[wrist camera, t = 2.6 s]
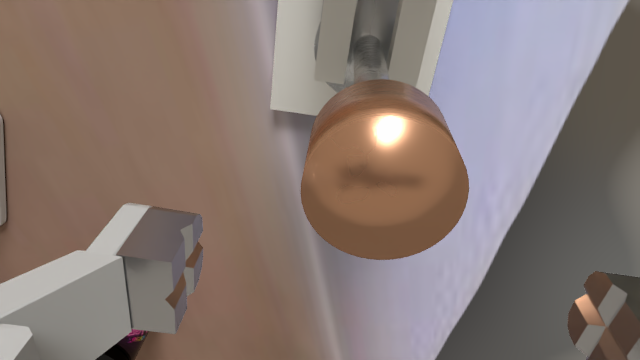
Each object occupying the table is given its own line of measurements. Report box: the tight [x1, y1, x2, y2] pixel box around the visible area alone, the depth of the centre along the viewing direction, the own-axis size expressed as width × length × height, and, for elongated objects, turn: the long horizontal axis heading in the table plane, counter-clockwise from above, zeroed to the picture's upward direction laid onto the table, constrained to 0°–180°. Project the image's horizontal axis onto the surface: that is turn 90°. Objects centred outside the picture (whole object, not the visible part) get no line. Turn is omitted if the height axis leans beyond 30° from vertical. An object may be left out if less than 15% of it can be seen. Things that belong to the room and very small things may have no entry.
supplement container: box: [95, 329, 149, 360], centre depth 54 cm, size 7×7×10 cm
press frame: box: [270, 0, 453, 116], centre depth 26 cm, size 20×14×30 cm
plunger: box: [301, 0, 469, 260], centre depth 19 cm, size 6×6×17 cm
